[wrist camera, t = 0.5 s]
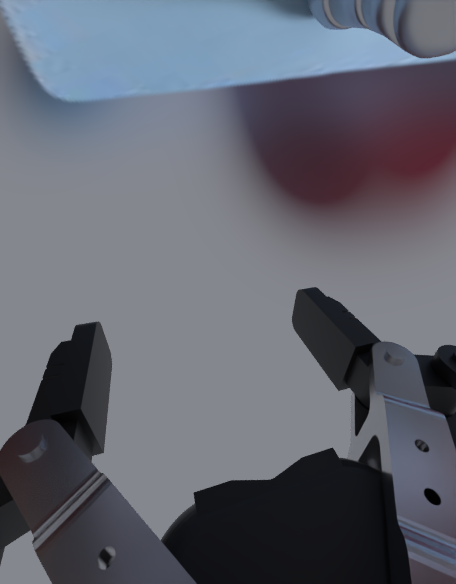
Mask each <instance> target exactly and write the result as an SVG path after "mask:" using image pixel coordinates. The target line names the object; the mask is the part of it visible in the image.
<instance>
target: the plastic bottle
mask: <svg viewBox="0 0 456 584" xmlns="http://www.w3.org/2000/svg"><path fill="white" fill-rule="evenodd" d="M308 5H309V8H310V10H311V13H312V14H313V16H314V17H315V19H316V20H317V21H318V22H319V23H320V24H321V25H323V26H324V27H326V28H328V29H334V30H341V29H348V28H365V29H369V30H372V31H374V32H376V33H379V34H381V35H383V36H385V37H386V38H388V39H389V40H390V41H392V42H393V43H395V44H396V45H397V46H399V47H400V48H401V49H403V50H404V51H405V52H408V53H410V54H412V55H413V56H416V57H418V58H433V57H439V56H443V55H447V54H450V53H452V52H454V51H456V0H308Z"/></svg>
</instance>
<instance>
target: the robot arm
mask: <svg viewBox="0 0 456 584" xmlns="http://www.w3.org/2000/svg"><path fill="white" fill-rule="evenodd" d="M292 323H293V327H294V329H295V331H296V333H297V334H298V335H299V337H300V338H301V340H302V341H303V342H304V344H305V345H306V346H307V348H308V349H309V351H310V352H311V353H312V355H313V356H314V358H315V359H316V360H317V362H318V363H319V364H320V366H321V367H322V369H323V370H324V371H325V373H326V374H327V376H328V377H329V378H330V380H331V381H332V382H333V384H334V385H335V387H336V388H337V389H338V390H339V391H340V390H343V389H347V388H351V390H352V391H353V394H352V396H351V443H350V449H349V453H348V458H347V459H345V458H339V457H338V456H337V454H336V452H335V450H334V449H333V448H330V449H327V450H324V451H321V452H318V453H315V454H312V455H308V456H305V457H303V458H301V459H300V460H298V461H297V462H295V463H294V464H293V465H291V466H290V467H289V468H287V469H286V470H285V471H283V472H282V473H281V474H279V475H278V476H276V477H275V478H273V479H271V480H235V481H234V480H232V481H228V482H225V483H222V484H219V485H216V486H213V487H210V488H207V489H204V490H200V491H197V492H194V499H195V504H194V505H192V506H191V507H190V508H188V509H187V510H186V511H185V512H183V513H182V514H181V515H180V516H179V517H178V518H177V519H176V520H175V522H174V523H173V524H172V525H171V526H170V528H169V529H168V530H167V532H166V533H165V534H164V536H163V537H162V539H161V541H160V540H159V538H158V537H157V536H156V535H155V533H154V532H153V531H152V530H151V529H150V528H149V526H148V525H147V524H146V523H145V522H144V520H143V519H142V518H141V517H140V516H139V515H138V513H137V512H136V511H135V510H134V509H133V507H132V506H131V505H130V504H129V503H128V501H127V500H126V499H125V498H124V497H123V496H122V494H121V493H120V492H119V491H118V489H117V488H116V487H115V486H114V485H113V484H112V482H111V481H110V480H109V479H108V478H107V477H106V476H105V475H104V474H103V473H100V472H99V471H98V469H97V468H96V467H95V466H94V465H93V463H92V462H91V460H92V456H94V455H97V454H101V453H104V444H105V433H106V423H107V412H108V402H109V391H110V380H111V371H112V359H111V353H110V349H109V346H108V343H107V340H106V338H105V335H104V332H103V329H102V326H101V324H100V322H92V323H86V324H80V325H76V326H75V329H74V332H73V335H72V339H71V341H65V342H61V343H60V344H59V345H58V346H57V348H56V349H55V350H54V351H53V352H52V353H51V355H50V358H49V361H48V364H47V366H46V367H47V369H46V370H45V372H44V375H43V380H42V381H41V383H40V386H39V389H38V392H37V395H36V398H35V401H34V403H33V406H32V409H31V412H30V415H29V418H28V420H27V423H26V425H25V426H24V427H23V428H21V429H19V430H18V431H17V432H16V433H14V434H13V435H12V436H11V437H10V438H9V439H8V440H7V441H6V443H5V444H4V445H3V447H2V449H1V450H0V564H1V560H2V556H3V552H4V548H5V546H7V545H8V544H10V543H11V542H13V541H14V540H16V539H17V538H19V537H20V536H22V535H24V534H25V533H27V532H28V531H30V530H31V531H32V534H33V536H34V540H33V547H34V550H35V552H36V554H37V556H38V558H39V560H40V562H41V564H42V565H43V567H44V569H45V571H46V573H47V575H48V577H49V578H50V581H51V582H52V584H456V346H453V345H444V346H441V347H439V348H438V350H437V352H436V353H435V355H434V356H429V355H413V354H412V353H411V352H410V351H409V350H408V349H406V348H405V347H402V346H401V345H398V344H395V343H392V342H381V341H380V340H379V339H378V338H377V337H376V336H375V335H374V334H373V333H372V332H371V331H370V330H369V329H368V328H366V327H365V326H364V325H363V324H362V323H361V322H360V321H359V320H358V319H356V318H355V316H354V315H353V314H351V312H348V310H347V309H346V308H345V307H344V306H343V305H342V304H341V303H340V302H338V301H336V300H334V299H332V298H330V297H326V296H325V295H324V294H323V293H322V292H321V291H320V290H319V289H318V288H316V287H314V288H307V289H302V290H298V292H297V294H296V299H295V305H294V310H293V316H292Z"/></svg>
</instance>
